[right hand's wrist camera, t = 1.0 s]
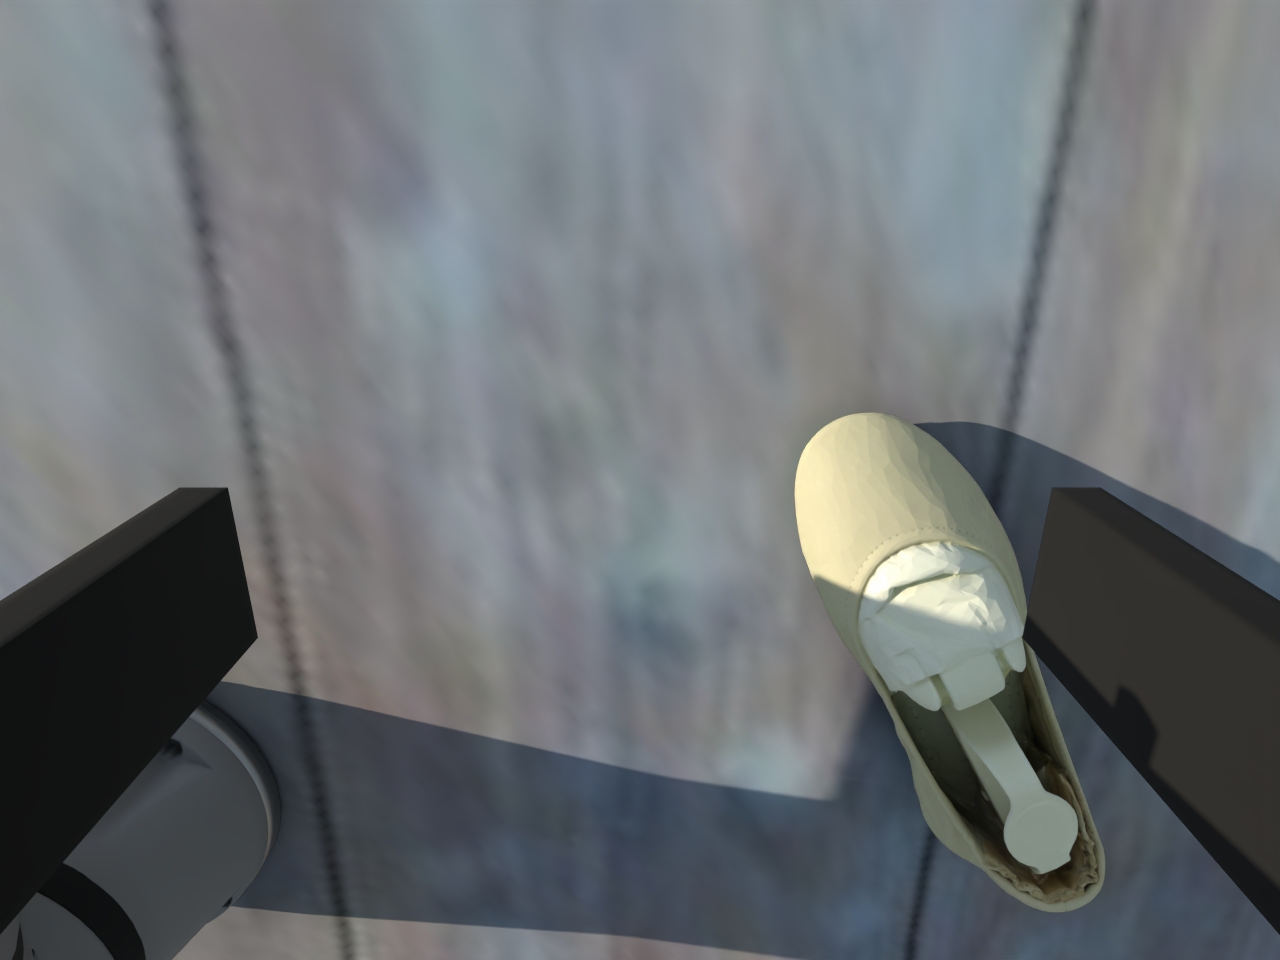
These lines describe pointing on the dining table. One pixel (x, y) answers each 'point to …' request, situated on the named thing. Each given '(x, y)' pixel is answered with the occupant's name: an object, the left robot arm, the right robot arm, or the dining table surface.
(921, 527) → the ballet flat
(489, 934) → the dining table surface
